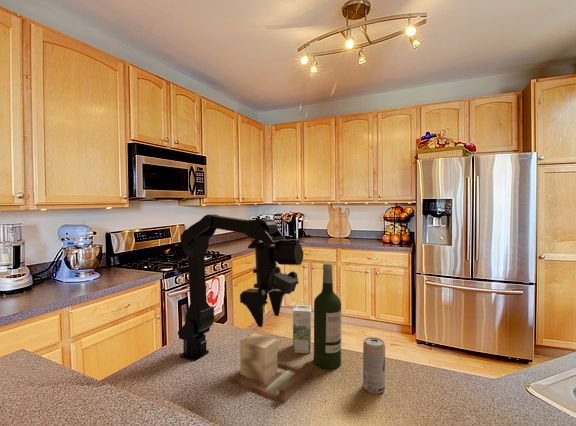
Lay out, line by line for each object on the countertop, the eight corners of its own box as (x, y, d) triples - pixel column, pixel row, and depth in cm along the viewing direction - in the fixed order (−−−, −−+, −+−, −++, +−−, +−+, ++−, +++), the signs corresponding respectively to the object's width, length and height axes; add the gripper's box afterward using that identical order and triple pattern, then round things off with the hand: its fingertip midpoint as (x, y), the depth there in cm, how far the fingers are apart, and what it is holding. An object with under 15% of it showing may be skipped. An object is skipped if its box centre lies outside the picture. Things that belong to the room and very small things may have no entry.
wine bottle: (335, 376, 82) (335, 267, 82) (309, 369, 86) (309, 264, 86) (344, 364, 89) (345, 263, 89) (320, 357, 93) (320, 260, 92)
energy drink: (385, 384, 78) (385, 338, 78) (384, 396, 73) (384, 347, 73) (364, 380, 80) (364, 335, 80) (362, 391, 75) (362, 344, 75)
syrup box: (311, 348, 99) (311, 304, 99) (310, 357, 93) (310, 310, 93) (293, 347, 99) (294, 304, 99) (292, 356, 93) (292, 310, 93)
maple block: (240, 374, 81) (240, 341, 81) (253, 364, 86) (254, 333, 86) (264, 383, 77) (264, 348, 77) (277, 372, 82) (277, 339, 82)
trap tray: (227, 384, 78) (227, 369, 78) (259, 361, 90) (259, 348, 90) (284, 407, 69) (284, 390, 69) (311, 378, 81) (311, 364, 81)
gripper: (276, 271, 71) (279, 337, 71) (305, 259, 88) (308, 313, 88) (237, 269, 76) (240, 332, 76) (272, 259, 93) (275, 310, 92)
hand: (269, 321), depth 83 cm, fingers open, 9 cm apart
